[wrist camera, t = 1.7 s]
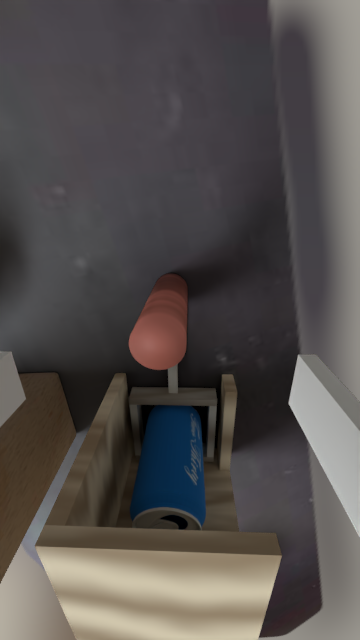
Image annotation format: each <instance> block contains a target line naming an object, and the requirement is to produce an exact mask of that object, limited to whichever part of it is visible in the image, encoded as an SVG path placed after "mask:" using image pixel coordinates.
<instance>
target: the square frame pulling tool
mask: <svg viewBox="0 0 360 640" xmlns="http://www.w3.org/2000/svg"><path fill="white" fill-rule="evenodd" d="M187 297H188V288H187V284H186V282H185V280H184V279H183V278H182V277H181V276H179V275H177V274H173V273H168V274H165V275H163V276H161V277H160V278H159V279H158V280H157V282H156V284H155V286H154V288H153V290H152V292H151V294H150V296H149V298H148V300H147V302H146V304H145V306H144V308H143V310H142V312H141V314H140V316H139V318H138V320H137V322H136V324H135V326H134V329H133V331H132V333H131V335H130V338H129V348H130V351H131V354H132V355H133V357H134V358H135V359H136V361H138V362H139V363H140V364H141V365H143V366H145V367H147V368H150V369H155V370H164V369H168V387H132V390H131V393H130V396H129V406H130V414H131V423H132V431H133V440H134V448H135V456H136V460H140V455H141V450H142V445H143V440H144V430H143V420H142V409H141V405H185V406H208V409H207V432H206V443H202V449H203V462H213V460H214V444H215V427H216V411H217V396H216V389H215V388H178V363H179V362H180V361H181V360H182V358H183V357H184V355H185V352H186V344H187Z"/></svg>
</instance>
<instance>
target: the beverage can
mask: <svg viewBox="0 0 360 640" xmlns="http://www.w3.org/2000/svg"><path fill="white" fill-rule="evenodd" d="M130 516H131V519H132V522H133V523H132V528H143V529H172V530H200V531H202V529H201V527H202V525H203V523H204V521H205V518H206V503H205V485H204V467H203V449H202V431H201V418H200V416H199V414H198V412H197V411H196V410H195V409H194V408H193V407H192V406H185V405H157V406H155V407H154V408H153V409H152V410H151V412H150V413H149V416H148V420H147V425H146V430H145V435H144V440H143V445H142V450H141V455H140V460H139V465H138V470H137V475H136V480H135V484H134V489H133V494H132V499H131V504H130Z"/></svg>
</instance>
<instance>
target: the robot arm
mask: <svg viewBox="0 0 360 640" xmlns="http://www.w3.org/2000/svg"><path fill="white" fill-rule="evenodd" d="M25 400H26V397H25V394H24V391H23V388H22V384H21V381H20V378H19V375H18V372H17V368H16V365H15V362H14V359H13V356H12V353H11V351H0V427H1V426H2V425H3V424H4V423H5V422H6V420H7V419H8V418H9V417H10V416H11V415H12V414H13V413H14V412H15V411H16V409H17V408H18V407H19V406H20V405H21V404H22V403H23V402H24V401H25ZM288 404H289V406H290V407H291V409H292V411H293V413H294V415H295V417H296V419H297V421H298V422H299V424H300V426H301V428H302V430H303V432H304V434H305V436H306V437H307V439H308V441H309V443H310V445H311V447H312V449H313V451H314V452H315V454H316V456H317V458H318V460H319V462H320V464H321V466H322V467H323V469H324V471H325V473H326V475H327V477H328V479H329V481H330V482H331V484H332V486H333V488H334V490H335V492H336V494H337V496H338V497H339V499H340V501H341V503H342V505H343V507H344V509H345V511H346V513H347V514H348V516H349V518H350V520H351V522H352V524H353V526H354V528H355V529H356V531H357V533H358V535H359V537H360V402H359V400H357V398H356V397H355V396H354V395H353V394H352V393H351V392H350V391H349V390H348V389H347V388H346V386H345V385H344V384H343V383H342V382H341V381H340V380H339V379H338V378H337V377H336V376H335V375H334V374H333V372H332V371H331V370H330V369H329V368H328V367H327V366H326V365H325V364H324V363H323V362H322V361H321V359H320V358H318V356H317V355H313V354H312V355H311V354H310V355H309V354H298V358H297V363H296V368H295V373H294V378H293V383H292V388H291V393H290V398H289V403H288Z"/></svg>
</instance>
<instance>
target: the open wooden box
mask: <svg viewBox="0 0 360 640" xmlns="http://www.w3.org/2000/svg"><path fill="white" fill-rule="evenodd" d="M236 402H237V389H236V385H235V381H234V377H233V374H222V382H221V396H220V411H219V426H218V440H217V448H214V460H213V462H203V467H204V485H205V503H206V518H205V521H204V523H203V525H202V527H201V529H202V531H200V530H172V529H143V528H132V523H133V522H132V519H131V516H130V504H131V499H132V494H133V489H134V484H135V480H136V475H137V470H138V465H139V460H136V456H135V448H134V440H133V431H132V423H131V414H130V406H129V396H128V388H127V379H126V373H115V375H114V377H113V379H112V382H111V384H110V386H109V388H108V390H107V392H106V394H105V397H104V399H103V401H102V403H101V405H100V407H99V409H98V412H97V414H96V416H95V418H94V420H93V422H92V424H91V427H90V429H89V431H88V433H87V435H86V437H85V439H84V442H83V444H82V446H81V448H80V450H79V452H78V454H77V457H76V459H75V461H74V463H73V465H72V467H71V469H70V472H69V474H68V476H67V478H66V480H65V482H64V484H63V487H62V489H61V491H60V493H59V495H58V497H57V500H56V502H55V504H54V506H53V508H52V510H51V512H50V515H49V517H48V519H47V521H46V523H45V525H44V527H43V530H42V532H41V534H40V536H39V538H38V540H37V542H36V545H35V548H36V550H37V553H38V555H39V557H40V559H41V562H42V564H43V566H44V568H45V570H46V573H47V575H48V577H49V579H50V582H51V584H52V586H53V588H54V590H55V593H56V595H57V597H58V600H59V602H60V604H61V606H62V608H63V611H64V613H65V615H66V617H67V620H68V622H69V624H70V626H71V629H72V631H73V633H74V635H75V638H76V640H258V637H259V634H260V630H261V627H262V623H263V620H264V616H265V613H266V610H267V606H268V603H269V599H270V596H271V592H272V589H273V585H274V582H275V578H276V575H277V571H278V568H279V564H280V561H281V557H282V554H281V550H280V547H279V543H278V539H277V536H276V533H258V532H239V528H238V521H237V515H236V509H235V502H234V496H233V489H232V483H231V477H230V460H231V451H232V441H233V431H234V421H235V412H236Z"/></svg>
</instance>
